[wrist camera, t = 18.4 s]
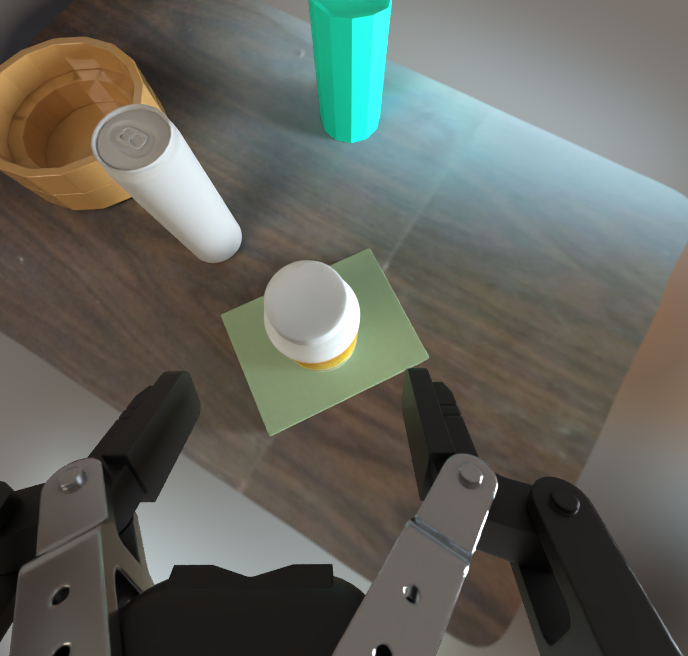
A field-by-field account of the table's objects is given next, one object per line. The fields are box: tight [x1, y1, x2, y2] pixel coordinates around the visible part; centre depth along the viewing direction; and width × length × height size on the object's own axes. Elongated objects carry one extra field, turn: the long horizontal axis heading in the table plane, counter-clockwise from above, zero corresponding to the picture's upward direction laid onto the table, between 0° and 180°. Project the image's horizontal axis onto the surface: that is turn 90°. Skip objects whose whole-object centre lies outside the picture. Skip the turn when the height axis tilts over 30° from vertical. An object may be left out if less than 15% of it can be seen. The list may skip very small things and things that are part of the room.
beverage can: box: [91, 104, 242, 263], centre depth 24 cm, size 5×5×12 cm
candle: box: [308, 0, 392, 143], centre depth 26 cm, size 6×6×12 cm
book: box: [221, 248, 429, 436], centre depth 26 cm, size 13×10×3 cm
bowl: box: [0, 37, 168, 210], centre depth 30 cm, size 15×15×5 cm
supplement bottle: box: [264, 260, 360, 372], centre depth 19 cm, size 5×5×10 cm
